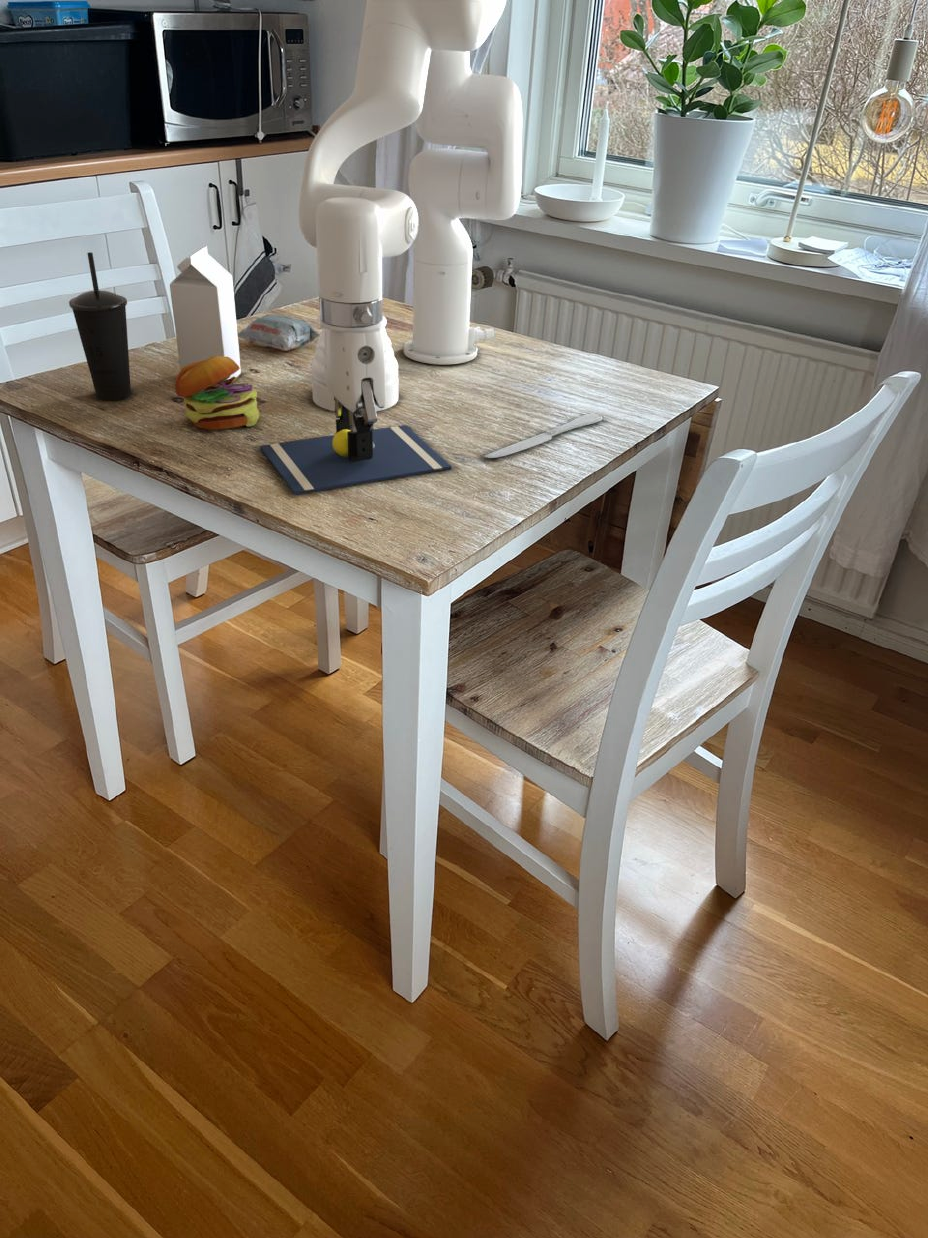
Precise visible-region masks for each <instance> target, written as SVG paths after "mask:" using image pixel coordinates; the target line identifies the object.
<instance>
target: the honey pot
mask: <svg viewBox="0 0 928 1238" xmlns="http://www.w3.org/2000/svg"><path fill="white" fill-rule="evenodd" d="M382 321H383V324H382V326H381V327H379V328H380V331H381V336H382V343H383V351H384V362H385V379H386V406H385V407H384V408H382V409H381V408H379V407H378V406H376V405H375V408H376V413H377V412H380V411H385V410H387V409H389V408H391V407H393V406H395V405H396V404H397V403H398V402H399V363H398V360H397V359H396V357H395V353H394V349H393V347H392V341H391V339H390V338H389V336H388V333H387V330H386V326H387V323H388V321H387V318H386V317H385V316H384V315H383V319H382ZM316 323H317V325H318V326H319V327H320V328H321V332H320V335H319V337H318V338H317V340H316V345H317V347H316V348H315V350H314V357H313V359H311V363H310V364H311V365H310V366H311V367H310V368H311V388H312V390H311V391H312V392H311V393H312V401H313V402H314V404H315V405H316V406H318V407H320V408H322V409H324V410H328V411H332V412H335V400H334V396H333V395H332V393H331V392H330V391H329V390H328V387H327V384H326V375H325V327H323V326H322V325H321V324H320V315H319V316H317V318H316ZM359 406H362V403H358V407H359Z"/></svg>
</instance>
